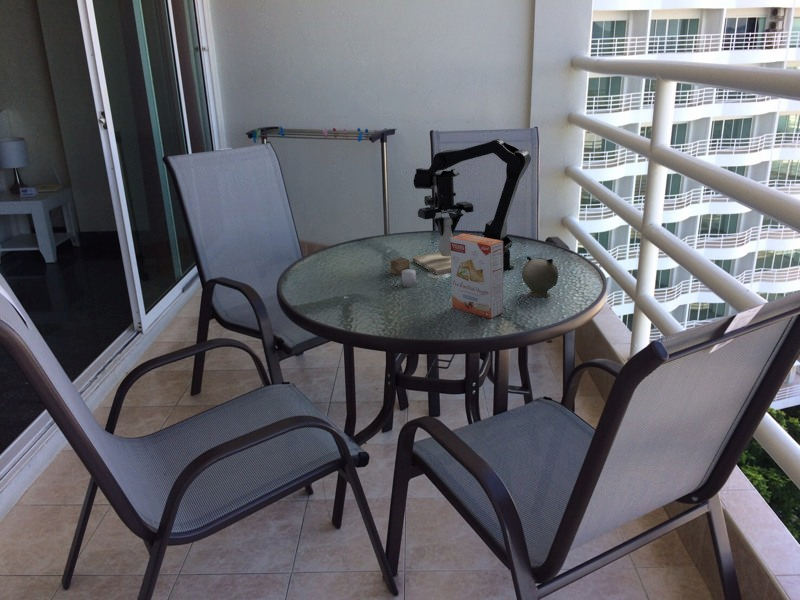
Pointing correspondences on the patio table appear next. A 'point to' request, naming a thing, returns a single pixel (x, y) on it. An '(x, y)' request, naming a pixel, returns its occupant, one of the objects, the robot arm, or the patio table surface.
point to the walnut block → (399, 265)
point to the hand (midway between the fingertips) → (446, 235)
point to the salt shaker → (446, 238)
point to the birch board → (434, 262)
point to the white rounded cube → (409, 277)
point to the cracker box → (477, 274)
